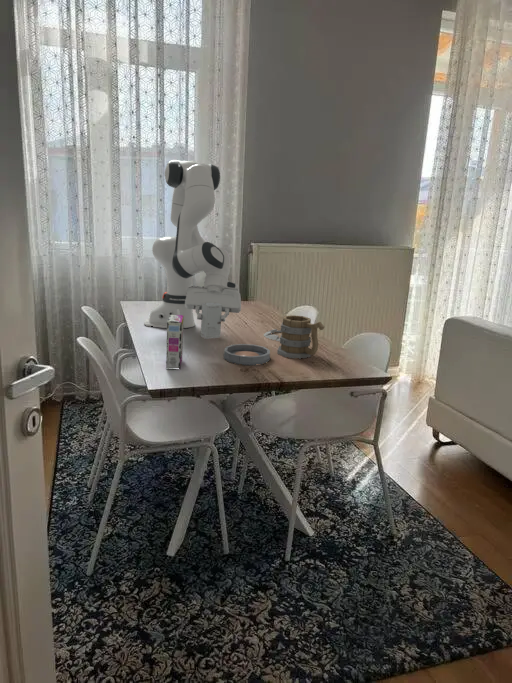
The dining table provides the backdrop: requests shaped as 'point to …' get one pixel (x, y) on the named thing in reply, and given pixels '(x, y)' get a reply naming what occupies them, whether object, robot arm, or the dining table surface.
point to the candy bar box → (174, 341)
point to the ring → (273, 337)
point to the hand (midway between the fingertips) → (211, 319)
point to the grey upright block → (211, 320)
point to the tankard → (298, 337)
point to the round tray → (246, 354)
